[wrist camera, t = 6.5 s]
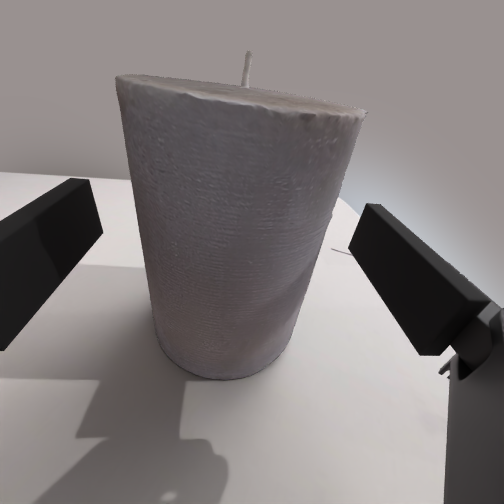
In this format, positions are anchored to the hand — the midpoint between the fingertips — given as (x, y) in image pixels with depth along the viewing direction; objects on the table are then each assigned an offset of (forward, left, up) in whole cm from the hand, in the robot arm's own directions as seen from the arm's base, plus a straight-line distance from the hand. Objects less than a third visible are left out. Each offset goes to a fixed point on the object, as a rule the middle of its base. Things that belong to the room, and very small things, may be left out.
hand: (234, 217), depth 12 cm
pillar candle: (+1, -1, -9) cm, 9 cm away
